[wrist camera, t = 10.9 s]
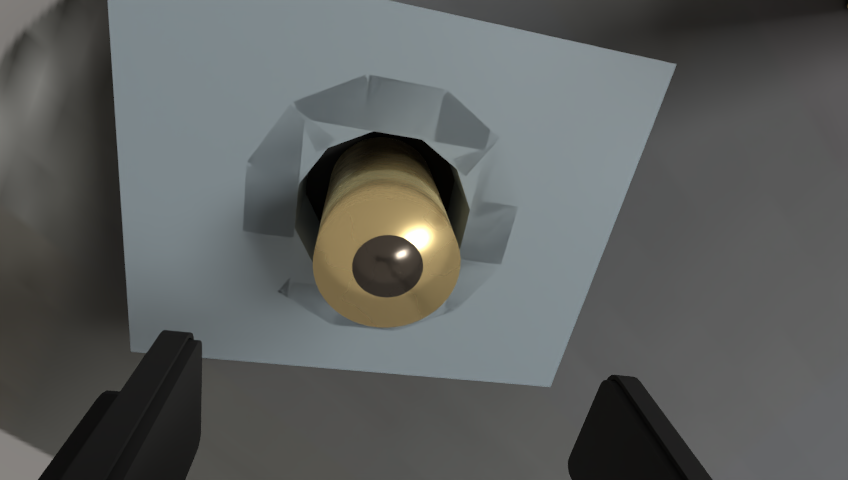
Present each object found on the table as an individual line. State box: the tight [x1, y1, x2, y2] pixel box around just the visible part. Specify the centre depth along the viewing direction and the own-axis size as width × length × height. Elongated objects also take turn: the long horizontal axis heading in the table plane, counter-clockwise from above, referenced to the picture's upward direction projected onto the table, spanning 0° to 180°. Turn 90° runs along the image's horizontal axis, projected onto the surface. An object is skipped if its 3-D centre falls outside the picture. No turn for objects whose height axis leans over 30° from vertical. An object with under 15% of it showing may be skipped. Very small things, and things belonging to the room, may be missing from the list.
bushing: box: [313, 137, 461, 328], centre depth 20 cm, size 5×5×8 cm
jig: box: [108, 0, 677, 387], centre depth 22 cm, size 20×16×4 cm
